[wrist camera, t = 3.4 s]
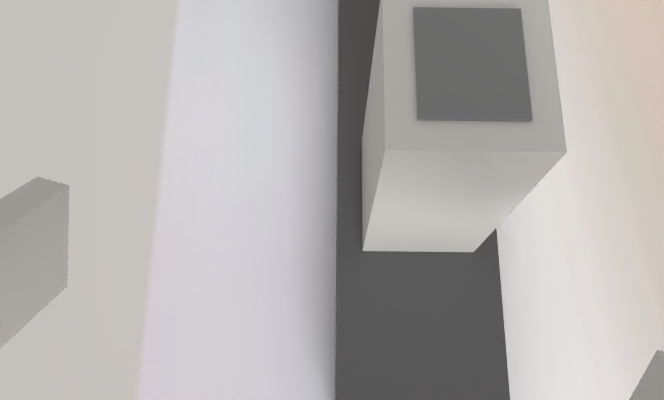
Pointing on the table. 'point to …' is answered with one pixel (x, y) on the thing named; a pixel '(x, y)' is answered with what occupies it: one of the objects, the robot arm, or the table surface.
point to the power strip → (405, 277)
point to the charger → (456, 120)
